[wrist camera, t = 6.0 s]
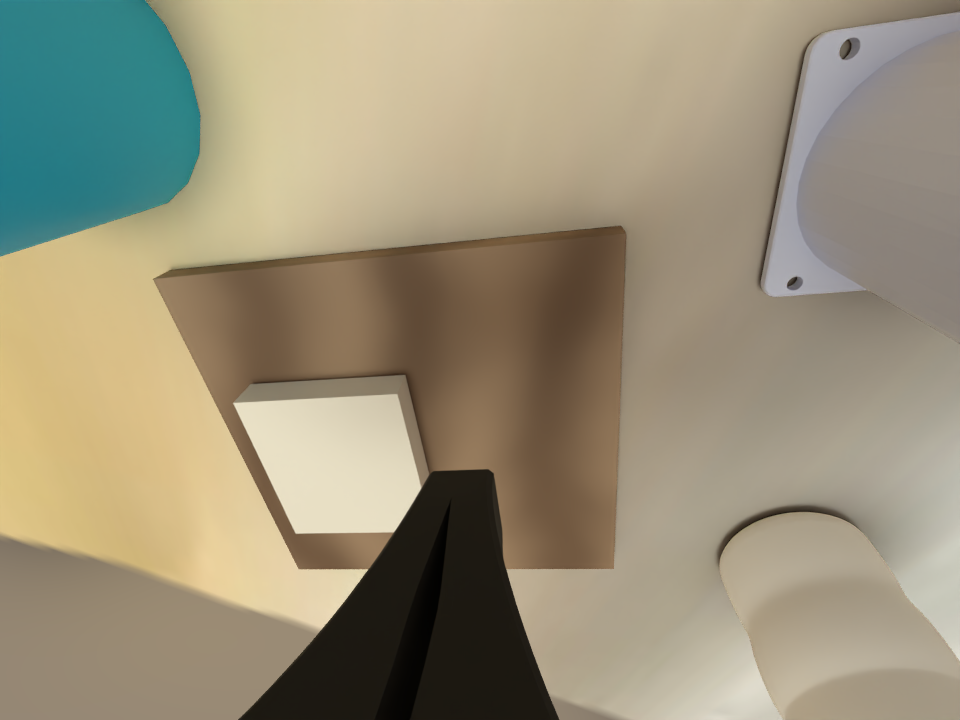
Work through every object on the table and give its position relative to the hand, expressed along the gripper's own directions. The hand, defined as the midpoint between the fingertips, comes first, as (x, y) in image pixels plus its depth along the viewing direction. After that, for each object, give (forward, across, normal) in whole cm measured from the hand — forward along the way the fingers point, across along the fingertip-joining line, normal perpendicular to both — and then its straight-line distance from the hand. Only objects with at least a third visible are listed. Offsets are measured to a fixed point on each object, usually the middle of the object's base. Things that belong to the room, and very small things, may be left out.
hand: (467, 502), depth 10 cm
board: (+10, +4, +6) cm, 12 cm away
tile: (+8, +4, +6) cm, 11 cm away
